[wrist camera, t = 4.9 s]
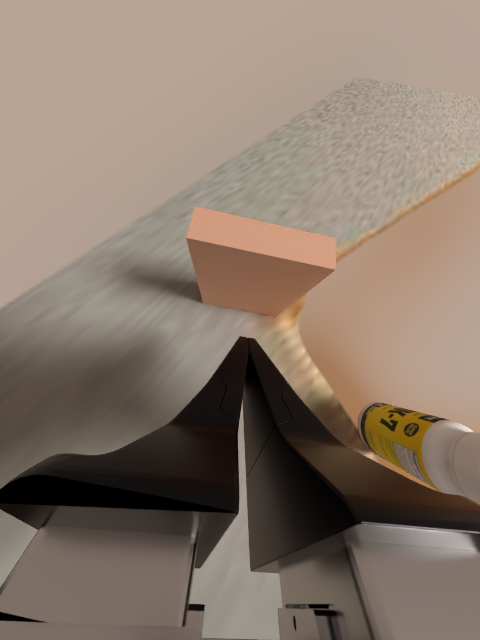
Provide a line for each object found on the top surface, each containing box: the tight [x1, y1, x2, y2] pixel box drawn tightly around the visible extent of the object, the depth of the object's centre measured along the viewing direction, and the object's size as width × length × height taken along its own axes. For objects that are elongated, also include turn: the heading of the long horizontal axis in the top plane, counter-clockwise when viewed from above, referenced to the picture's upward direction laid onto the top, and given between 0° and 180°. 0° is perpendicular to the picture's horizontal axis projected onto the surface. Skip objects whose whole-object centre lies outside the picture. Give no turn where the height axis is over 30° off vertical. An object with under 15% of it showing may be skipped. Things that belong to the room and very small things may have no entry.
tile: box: [186, 206, 336, 317], centre depth 14 cm, size 2×8×10 cm, turn 81°
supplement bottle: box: [358, 402, 480, 504], centre depth 13 cm, size 5×5×8 cm
